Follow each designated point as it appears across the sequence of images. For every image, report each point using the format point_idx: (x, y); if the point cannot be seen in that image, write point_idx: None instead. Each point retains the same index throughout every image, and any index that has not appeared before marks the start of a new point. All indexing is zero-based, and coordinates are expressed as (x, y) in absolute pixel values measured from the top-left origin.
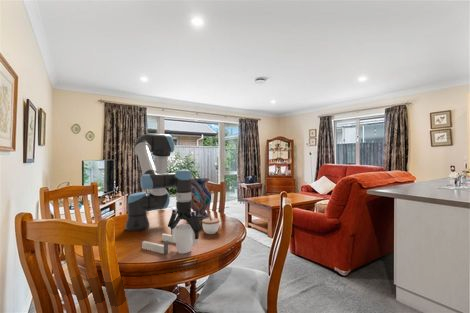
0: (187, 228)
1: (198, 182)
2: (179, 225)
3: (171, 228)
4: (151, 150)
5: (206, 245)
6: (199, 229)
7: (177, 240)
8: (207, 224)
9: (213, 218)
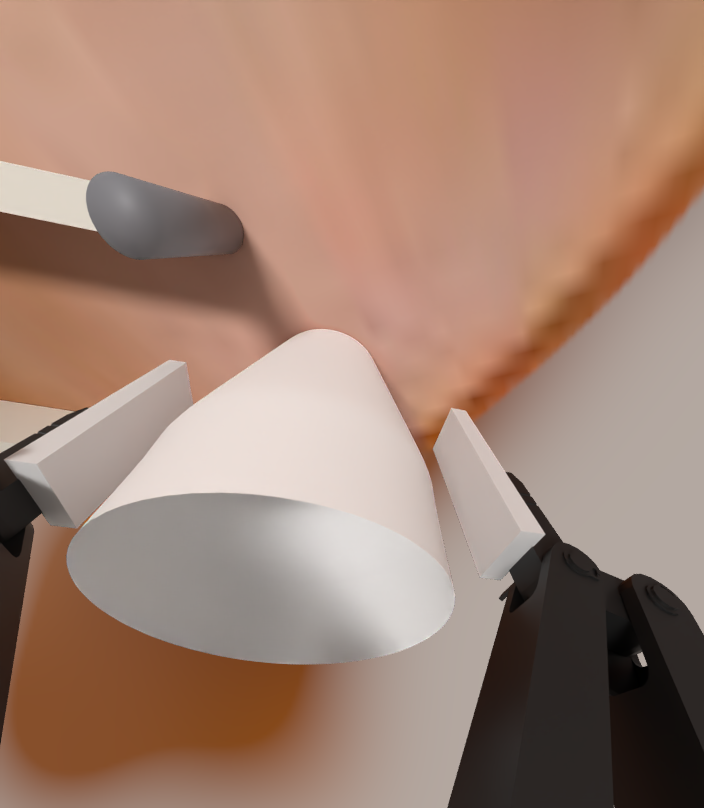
0: (246, 408)
1: None
2: (78, 549)
3: (24, 529)
4: None
5: (485, 171)
6: (637, 649)
7: (292, 511)
8: None
9: None
